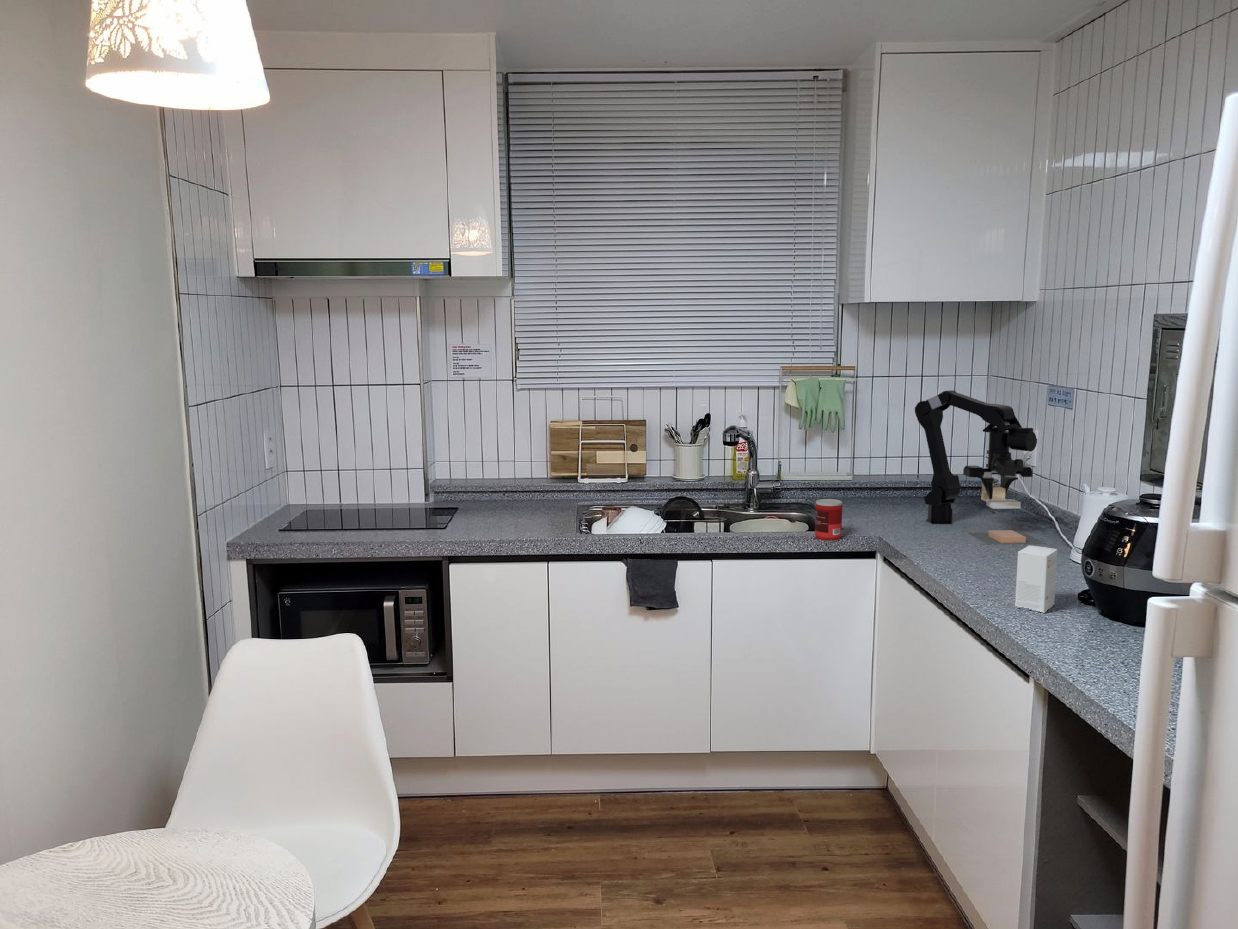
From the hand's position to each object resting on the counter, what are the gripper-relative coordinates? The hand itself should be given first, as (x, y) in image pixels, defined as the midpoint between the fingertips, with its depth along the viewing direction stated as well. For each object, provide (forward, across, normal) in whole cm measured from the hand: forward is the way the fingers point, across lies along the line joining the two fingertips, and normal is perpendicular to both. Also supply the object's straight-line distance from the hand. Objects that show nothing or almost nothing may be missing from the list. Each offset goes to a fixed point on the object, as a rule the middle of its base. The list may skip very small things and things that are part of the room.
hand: (996, 499), depth 274 cm
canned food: (+11, -51, -4) cm, 52 cm away
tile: (+9, 0, -4) cm, 10 cm away
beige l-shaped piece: (+1, 0, 0) cm, 1 cm away
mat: (+10, 0, -7) cm, 13 cm away
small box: (+11, -21, -73) cm, 77 cm away
